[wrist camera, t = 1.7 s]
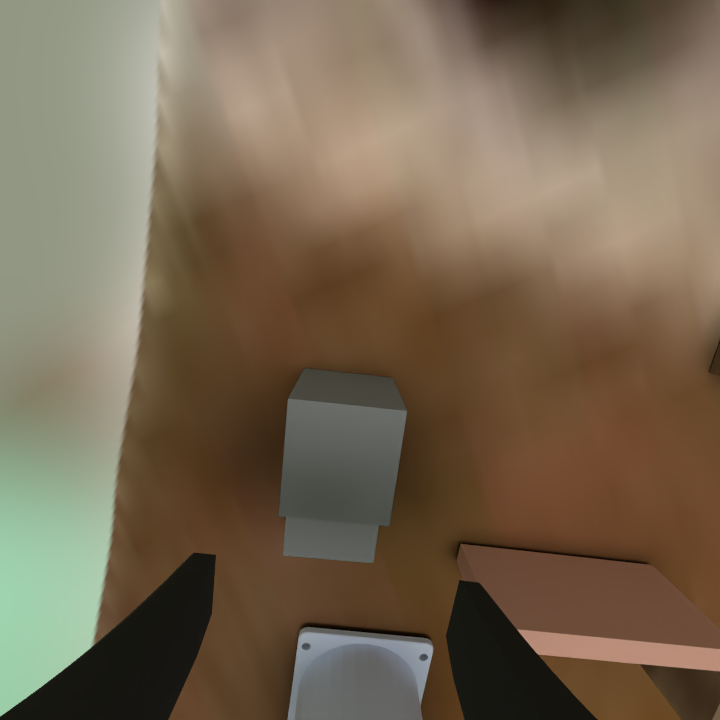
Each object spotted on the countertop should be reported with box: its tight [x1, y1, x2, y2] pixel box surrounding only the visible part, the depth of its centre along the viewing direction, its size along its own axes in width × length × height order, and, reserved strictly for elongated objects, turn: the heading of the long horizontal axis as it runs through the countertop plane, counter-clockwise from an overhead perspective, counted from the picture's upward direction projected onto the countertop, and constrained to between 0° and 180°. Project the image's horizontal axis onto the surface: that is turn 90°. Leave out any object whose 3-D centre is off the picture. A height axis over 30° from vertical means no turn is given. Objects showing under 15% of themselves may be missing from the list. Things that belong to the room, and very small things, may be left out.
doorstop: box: [279, 368, 407, 563], centre depth 17 cm, size 9×4×5 cm, turn 173°
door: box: [456, 544, 720, 671], centre depth 18 cm, size 11×1×5 cm, turn 82°
